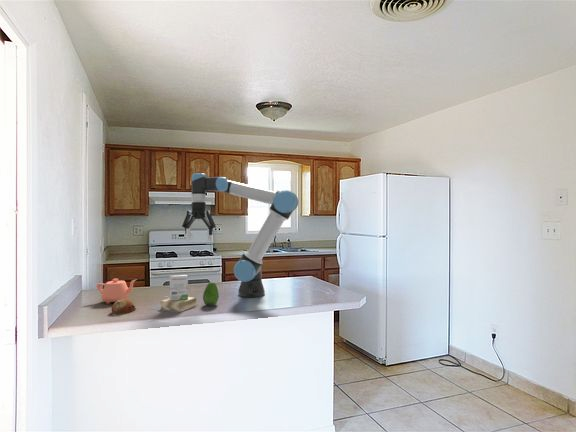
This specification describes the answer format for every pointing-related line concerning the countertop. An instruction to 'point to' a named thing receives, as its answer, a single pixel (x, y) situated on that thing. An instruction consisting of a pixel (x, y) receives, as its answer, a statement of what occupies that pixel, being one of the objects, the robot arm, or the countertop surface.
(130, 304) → the bread roll
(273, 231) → the robot arm
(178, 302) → the maple plinth
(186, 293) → the ink box
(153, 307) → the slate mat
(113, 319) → the countertop surface
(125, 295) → the teapot
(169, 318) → the countertop surface
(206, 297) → the avocado
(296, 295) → the countertop surface
